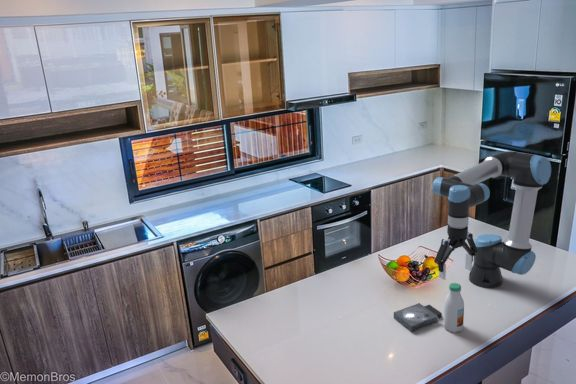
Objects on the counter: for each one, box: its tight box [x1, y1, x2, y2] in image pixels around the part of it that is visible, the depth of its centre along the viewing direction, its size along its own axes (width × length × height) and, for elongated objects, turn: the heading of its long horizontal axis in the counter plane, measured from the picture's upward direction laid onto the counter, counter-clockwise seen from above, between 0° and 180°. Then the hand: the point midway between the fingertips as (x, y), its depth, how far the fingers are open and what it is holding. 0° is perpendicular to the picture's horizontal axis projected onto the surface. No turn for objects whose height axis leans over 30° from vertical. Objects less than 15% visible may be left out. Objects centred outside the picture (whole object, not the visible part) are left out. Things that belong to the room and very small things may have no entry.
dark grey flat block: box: [393, 302, 443, 333], centre depth 208 cm, size 18×12×3 cm, turn 115°
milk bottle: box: [443, 282, 465, 333], centre depth 197 cm, size 8×8×20 cm
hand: (455, 273), depth 192 cm, fingers open, 13 cm apart
